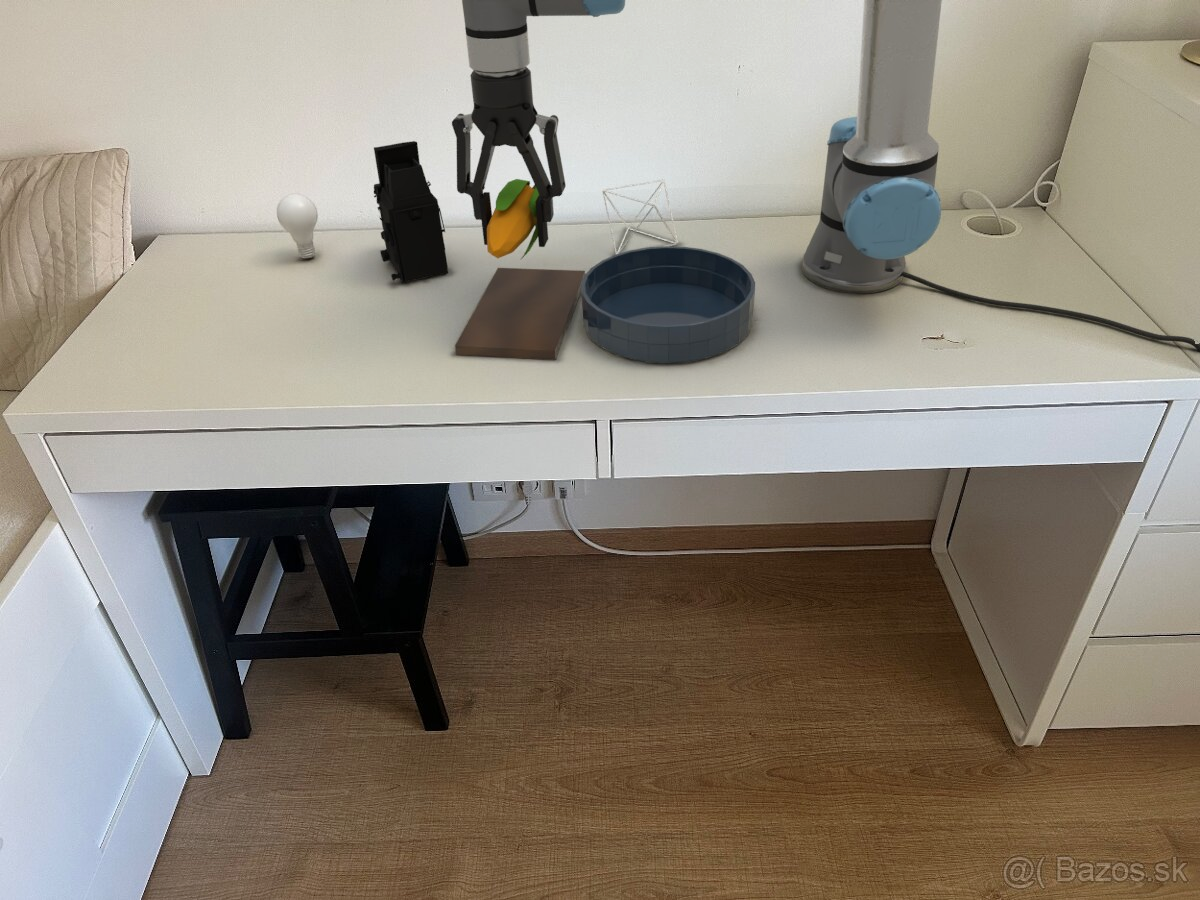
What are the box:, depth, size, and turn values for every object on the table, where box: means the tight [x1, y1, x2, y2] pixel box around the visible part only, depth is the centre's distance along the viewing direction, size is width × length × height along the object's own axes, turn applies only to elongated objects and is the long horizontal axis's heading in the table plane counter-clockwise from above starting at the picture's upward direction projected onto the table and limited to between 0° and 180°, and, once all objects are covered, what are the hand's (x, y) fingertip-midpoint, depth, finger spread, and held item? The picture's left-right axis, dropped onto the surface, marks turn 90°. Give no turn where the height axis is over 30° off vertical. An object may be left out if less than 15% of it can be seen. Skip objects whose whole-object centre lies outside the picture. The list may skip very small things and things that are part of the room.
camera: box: [373, 140, 449, 284], centre depth 141 cm, size 10×14×20 cm
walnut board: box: [454, 267, 586, 361], centre depth 132 cm, size 14×24×2 cm, turn 171°
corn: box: [486, 178, 539, 260], centre depth 123 cm, size 7×8×20 cm
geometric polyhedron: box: [601, 179, 679, 255], centre depth 147 cm, size 12×11×9 cm
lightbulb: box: [276, 193, 319, 260], centre depth 147 cm, size 6×6×11 cm
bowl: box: [580, 245, 756, 364], centre depth 127 cm, size 24×24×6 cm
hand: (516, 241), depth 125 cm, fingers closed on corn, 7 cm apart
